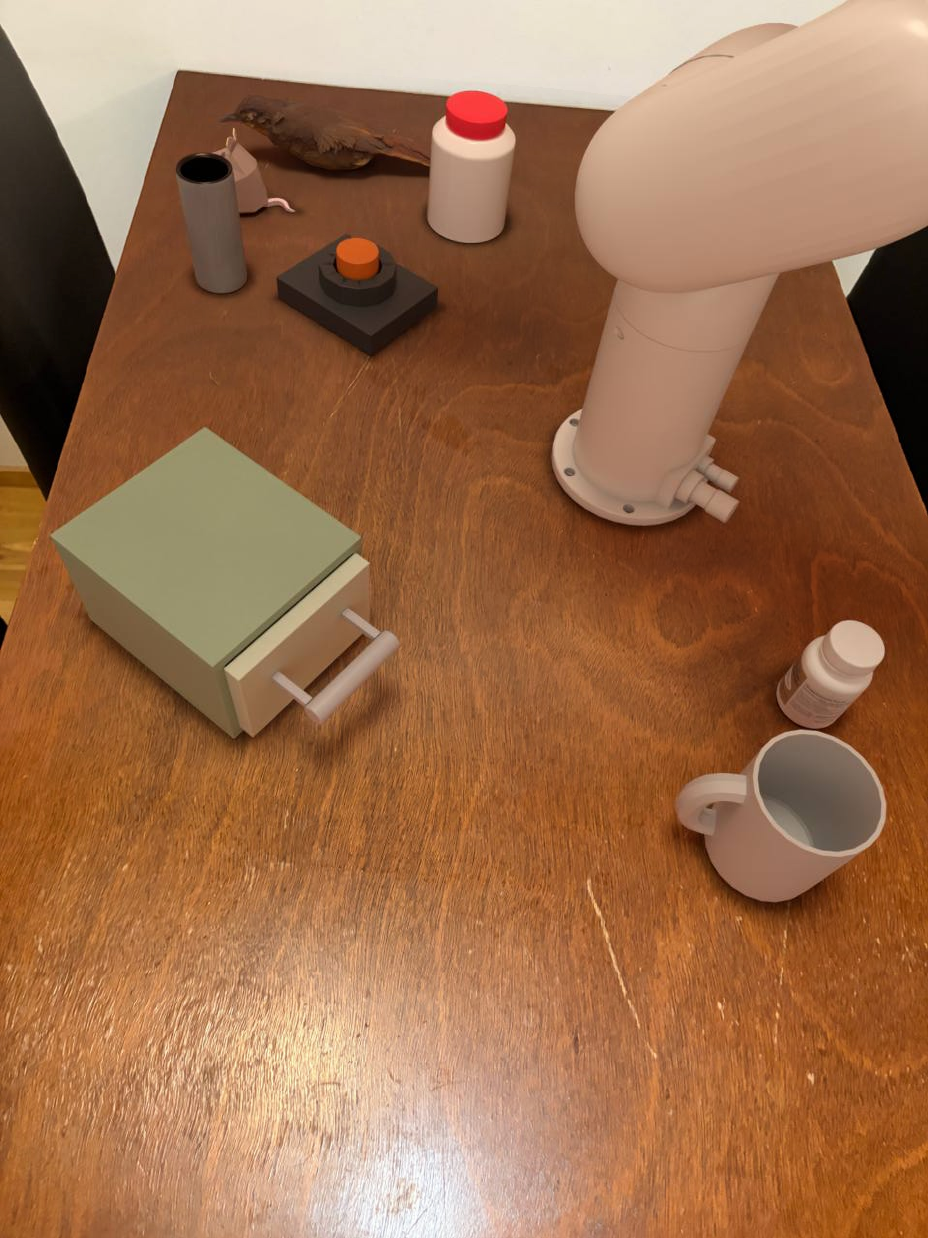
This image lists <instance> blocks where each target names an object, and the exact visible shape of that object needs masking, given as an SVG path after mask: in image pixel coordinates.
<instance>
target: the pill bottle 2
mask: <svg viewBox="0 0 928 1238" xmlns="http://www.w3.org/2000/svg"><path fill="white" fill-rule="evenodd" d="M885 652H886V651H885V645H884V641H883V639H882V637H881V636H880V634H878V632H877V631H876V630H875V629H874V628H873V627H871V626H870V625H868V624H867V623H863V622H861V621H858V620H852V619H850V620H849V619H847V620H846V619H845V620H842V621H839V622H838V623H836V624H834V626H832V627H831V628H830V630H829V631H828V632H827V634H824V635H821V636H818V637H816V638H815V639H813V640H812V641H810V642H809V644H808V645H807V646H806V647H805V648H804V650H802V652H801V654H800V655H799V656H798V657H797V659H795V661H794V662H793V664H792V665H791V666H790V668H789V669H788V670H787V671H786V673H785V674H784V675H783V676H782V677H781V679H780V681H779V682H778V684H777V687H776V699H777V704H778V705H779V708H780V709H781V712H783V714H784V715H785V716H786V717H787V718H788V719H789V720H790V721H792V722H793V723H795V724H797V725H798V726H800V727H804V728H808V729H824V728H827V727H829V726H830V725H832V724H834V723H835V722H836V721H837V719H838V718H840V717H841V715H843V714H844V712H846V711H847V710H848V708H849V707H850V706H851V705H852V704H853V703H854V702H855V701H856V700H857V699H859V697H860V696H861V695H862V694H863V693H864V692H865V691H866V689H867V688H869V686H870V685H871V682H872V679H873V676H874V671H875V669H876V668H877V667H878V666H879V665H880V663H881V662H882V661H883V659H884V657H885V654H886V653H885Z"/></svg>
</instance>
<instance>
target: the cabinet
mask: <svg viewBox="0 0 928 1238" xmlns="http://www.w3.org/2000/svg"><path fill="white" fill-rule="evenodd" d="M49 537H50V539H51V541H52V543H53V545H54V547H55V550H56V551H57V553H58V555H59V557H60V559H61V561H62V564H63V565H64V567H65V569H66V571H67V574H68V576H69V579H70V580H71V582H72V584H73V586H74V588H75V590H76V592H77V594H78V597H79V598H80V600H81V602H82V605H83V606H84V609H85V611H86V613H87V615H88V618H89V620H90V621H91V622H93V623H94V624H95V625H96V626H98V627H99V628H100V629H101V630H103V632H104V633H106V634H107V635H108V636H109V637H110V638H112V639H113V640H114V641H116V643H118V644H119V645H120V646H121V647H122V648H124V649H125V650H126V651H127V652H128V653H130V654H131V655H132V656H133V657H134V658H135V659H137V660H138V661H139V662H140V663H142V664H143V665H144V666H145V667H146V668H148V669H149V670H150V671H151V672H152V673H154V674H155V676H157V677H159V679H161V680H162V681H163V682H164V683H166V684H167V685H168V686H169V687H171V688H172V689H173V690H174V691H175V692H176V693H178V694H179V695H180V696H181V697H183V698H184V699H185V700H186V701H187V702H188V703H190V704H191V705H192V706H193V707H195V708H196V709H197V710H198V711H200V713H202V714H203V715H204V716H205V717H206V718H207V719H209V720H210V721H211V722H213V723H214V724H215V725H216V726H217V727H218V728H220V729H221V730H222V731H223V732H225V733H226V734H227V735H228V736H229V737H230V738H232V739H233V740H234V739H236V738H237V737H238V736H240V734H241V733H243V732H244V730H243V729H242V728H241V727H240V725H239V722H238V718H237V715H236V711H235V707H234V704H233V700H232V697H231V693H230V689H229V686H228V682H227V679H226V675H225V671H224V668H225V665H226V664H227V663H228V662H229V661H230V660H231V659H232V658H234V657H235V656H236V655H237V654H238V653H239V652H240V651H242V650H243V649H244V648H245V647H246V646H247V645H248V644H250V643H251V642H252V641H253V640H254V639H255V638H256V637H258V636H259V635H260V634H261V633H262V632H263V631H264V630H265V629H267V628H268V627H269V626H270V625H271V624H272V623H273V622H275V621H276V620H277V619H278V618H279V617H280V616H281V615H283V614H284V613H285V612H286V611H287V610H288V609H289V608H291V607H292V606H293V605H294V604H295V603H296V602H297V601H298V600H300V599H301V598H302V597H303V596H304V595H305V594H306V593H308V592H309V591H310V590H311V589H312V588H313V587H314V586H316V585H317V584H318V583H319V582H320V581H321V580H322V579H324V578H325V577H326V576H327V575H328V574H329V573H330V572H331V571H333V572H334V571H335V570H336V569H337V568H339V567H340V566H341V565H342V564H343V563H344V562H345V561H347V560H348V559H349V558H350V557H351V556H352V555H353V554H354V553H357V554H358V555H360V556H361V557H362V558H363V555H362V543H363V541H362V540H363V539H362V536H360V535H359V534H358V533H356V532H355V531H354V530H352V529H351V528H349V527H348V526H347V525H345V524H343V522H341V521H339V520H338V519H337V518H335V517H334V516H332V515H331V514H330V513H328V512H327V511H326V510H324V509H322V508H321V507H320V506H318V505H316V503H314V502H312V501H311V500H309V499H308V498H307V497H305V496H304V495H302V494H301V493H300V492H298V491H297V490H296V489H294V488H292V487H291V486H290V485H288V484H287V483H286V482H284V481H283V480H281V479H279V477H277V476H276V475H274V474H273V473H271V472H270V471H269V470H267V469H266V468H264V467H263V466H262V465H260V464H258V463H257V462H256V461H254V460H253V459H251V458H250V457H249V456H248V455H246V454H244V453H243V452H242V451H240V450H238V449H237V448H236V447H234V446H233V445H232V444H230V443H229V442H227V441H226V440H224V439H223V438H222V437H220V436H219V435H218V434H216V433H214V432H213V431H212V430H210V429H209V428H208V427H206V426H203V427H202V428H201V429H199V430H198V431H196V432H194V434H192V435H191V436H190V437H188V438H187V439H185V440H183V442H181V443H180V444H178V445H177V446H175V447H174V448H172V449H171V450H169V451H168V452H166V453H165V454H163V455H162V456H160V457H159V458H158V459H157V460H155V461H153V462H152V463H151V464H149V465H148V466H147V467H145V468H144V469H142V470H141V471H139V472H138V473H136V474H135V475H133V476H131V478H129V479H128V480H126V481H125V482H123V483H122V484H121V485H119V486H118V487H117V488H116V487H115V489H114V490H112V491H111V492H109V493H108V494H106V495H105V496H104V497H102V498H100V499H99V500H98V501H97V502H95V503H93V504H92V505H90V506H89V507H87V508H86V509H84V510H83V511H82V512H81V513H80V514H78V515H76V516H74V517H73V518H72V519H70V520H69V521H68V522H66V523H65V524H63V525H62V526H60V527H58V528H57V529H56V530H54V531H53V532H52V533H51V534H49Z"/></svg>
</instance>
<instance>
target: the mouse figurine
mask: <svg viewBox="0 0 928 1238" xmlns="http://www.w3.org/2000/svg"><path fill="white" fill-rule="evenodd" d="M226 138H227V139H226V143H225V147H224V148H222V149H219V150H216V151H214V152H212V153H214V154H218V155H220V156H223V157H225V158H226V159H227V160H229V161H230V163H231V164H232V166H233V172H234V179H235V187H236V194H237V201H238V209H239V215H244V214H245V215H247V214H254V213H255V212H257V211H258V210H260V209H262V208H271V207H274V206H281V207H282V208H283V209H284V210H285V211H286V212H289V213H296V210H294V209H292V208H290V206H289V202H288V201H286V200H285V199H283V198H280V197H273V198H272V197H271V198H268V192H267V191H268V190H267V188H266V186H265V182H264V180H263V176H262V174H261V170H260V168H259V167H260V166H259V165H258V162H257V161H258V160H257V159H256V158H255V157H254V156H253V155H252V154H250V152H249V151H248V150H247V149H245V148H244V147H243V146H242V144H240V143H239V138H238V134H237V131H236V128H235V127H233V128H232V136H229V137H226Z"/></svg>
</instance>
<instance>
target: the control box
mask: <svg viewBox="0 0 928 1238" xmlns="http://www.w3.org/2000/svg"><path fill="white" fill-rule="evenodd" d="M350 238H354V237H353V236H351V235H350V234H347V233H345V234H343V235H341V236H340V237H338V238H337V239H335V240H334V241H332V242H330V243H329V244H327V245H326V246H324V247H322V248H321V249H320V250H317V251H316V252H315V253H313V254H311V255H310V256H308V257H306V258H304V259H303V260H302V261H300V262H299V263H297V264H295V265H293V266H292V267H290V268H289V269H287V270H286V271H283V273H281V274H279V275H277V276H276V278H275V279H276V289H277V297H278V299H279V300H280V301H283V303H286V305H289V306H290V307H292V308H293V309H295V310H297V311H298V312H300V313H301V314H303V315H304V316H306V317H308V318H309V319H310V320H313V321H314V322H315V323H318V324H319V325H321V326H322V327H324V328H325V329H326V330H329V331H330V332H332V333H333V334H334V335H337V337H340V338H341V339H343V340H344V341H346V342H348V343H349V344H351V345H352V346H354V347H356V348H358V349H359V350H361V351H362V352H364V353H366V354H367V355H368V356H371V357H372V356H374V355H375V354H376V353H377V352H379V351H380V350H382V349H383V348H384V347H386V346H387V345H388V344H390V343H391V342H392V341H394V340H396V338H398V337H399V336H401V335H402V334H404V333H405V332H406V331H408V330H409V329H410V328H413V326H415V325H416V324H417V323H419V322H420V321H422V320H423V319H424V318H425V317H426V316H428V315H430V314H431V313H432V312H433V311H435V310H436V309H437V308H438V300H439V299H438V298H439V287H438V286H437V285H435V284H433V283H432V282H430V281H428V280H427V279H425V278H423V277H421V276H420V275H418V274H417V273H415V272H413V271H411V270H409V269H407V268H406V267H404V266H402V265H401V264H399V263H397V262H396V261H395V259H394V257H393V255H392V254H391V252H390V251H388V250H386V249H385V248H383V247H381V246H380V245H378V244H376V243H374V244H375V245H376V246H377V248H378V250H379V270H378V273H377V274H376V275H375V276H374V277H373V278H369V279H363V280H355V279H349V278H346V277H344V276H342V275H341V274H340V273H339V272H338V270H337V259H336V249H337V246H338V245H339V244H340V243H341V242H342V241H344V240H346V239H350Z"/></svg>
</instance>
